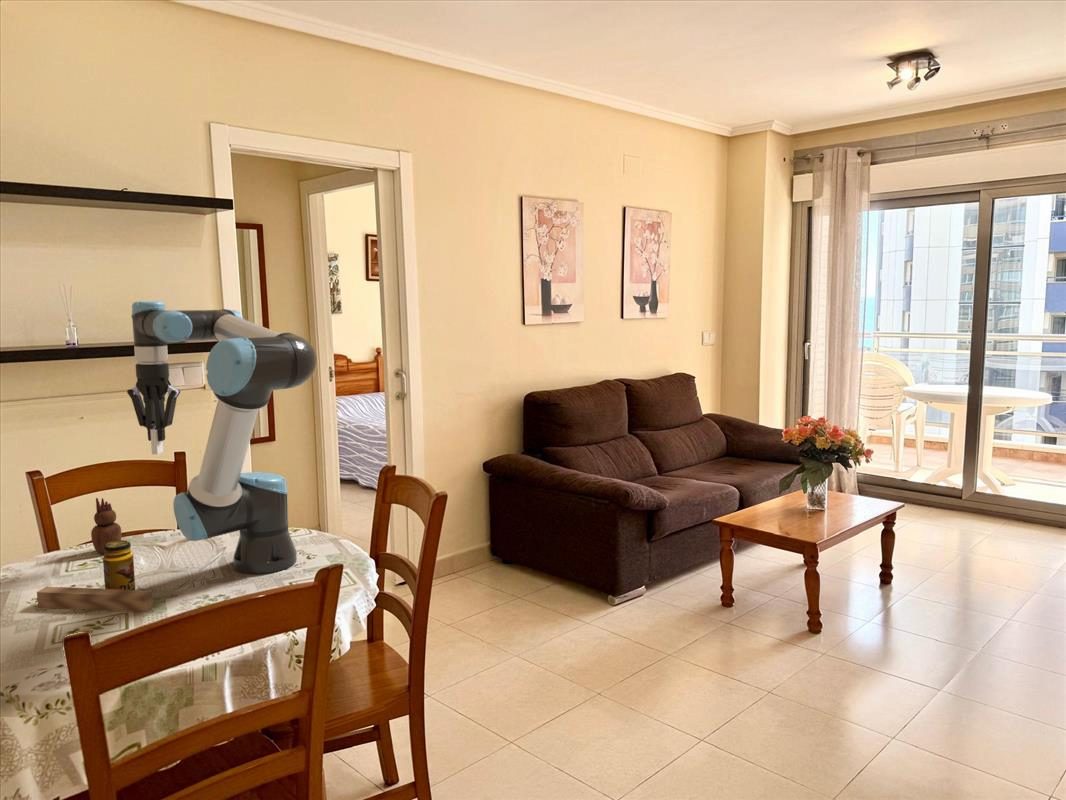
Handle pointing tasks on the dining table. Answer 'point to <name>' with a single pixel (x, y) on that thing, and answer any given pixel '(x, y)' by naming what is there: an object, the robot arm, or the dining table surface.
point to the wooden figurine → (104, 526)
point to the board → (95, 599)
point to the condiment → (119, 566)
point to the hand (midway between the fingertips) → (157, 453)
